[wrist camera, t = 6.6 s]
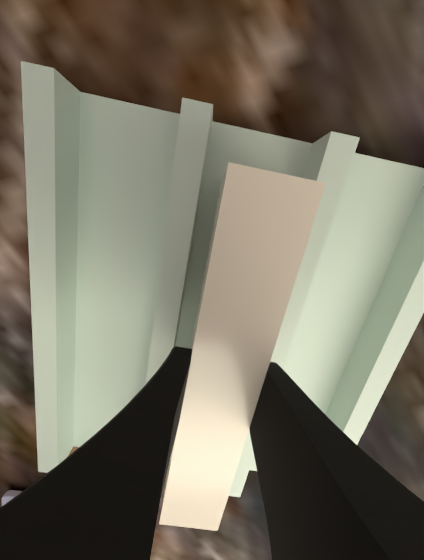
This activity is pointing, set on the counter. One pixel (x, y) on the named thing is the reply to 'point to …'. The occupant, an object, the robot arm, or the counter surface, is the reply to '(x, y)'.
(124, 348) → the ridged mint rail
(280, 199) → the clay strip
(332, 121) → the counter surface
